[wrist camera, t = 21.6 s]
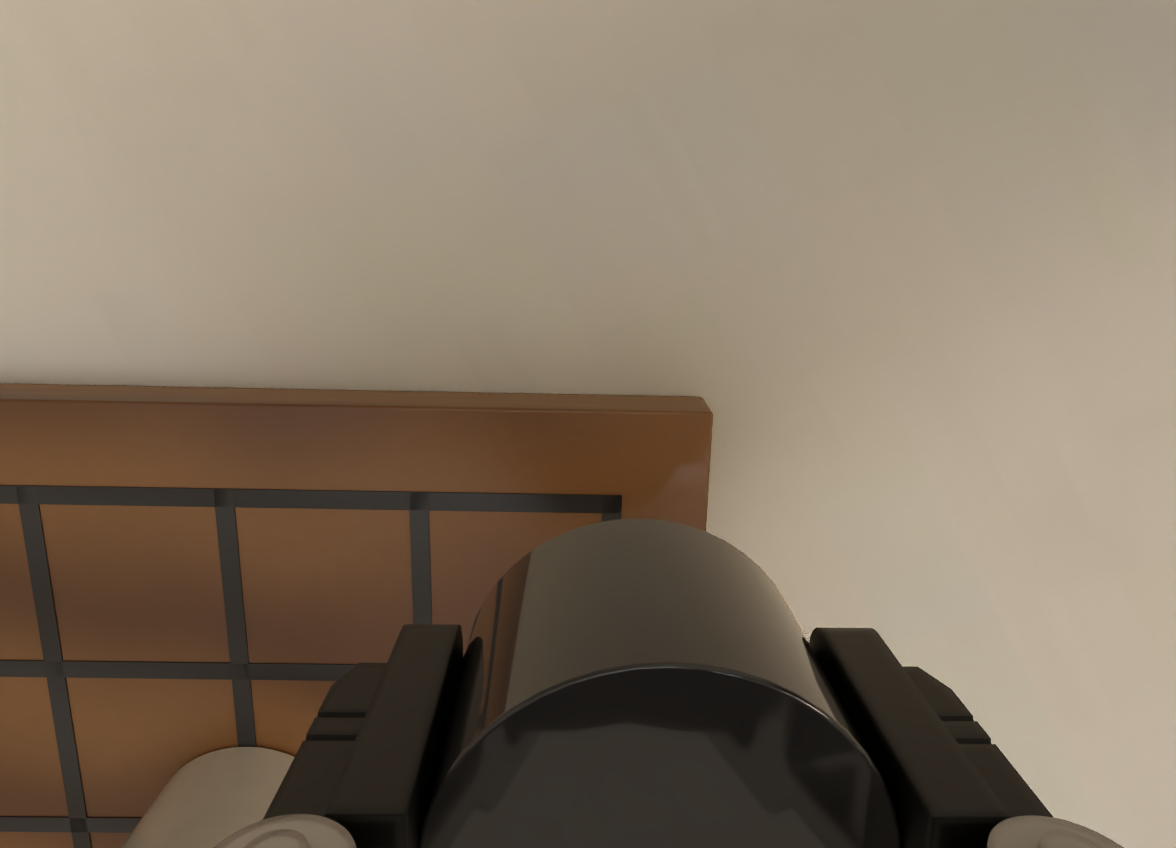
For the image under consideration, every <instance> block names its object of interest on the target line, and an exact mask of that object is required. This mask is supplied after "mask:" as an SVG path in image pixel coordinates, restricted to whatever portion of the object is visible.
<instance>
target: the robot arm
mask: <svg viewBox="0 0 1176 848" xmlns="http://www.w3.org/2000/svg"><path fill="white" fill-rule="evenodd" d="M809 645H810V647H811V648H812V650H813V652H814V654H815V656H816V657H817V659H818V661H819V663H820V665H821V667H822V668H823V670H824V672H825V674H826V676H827V678H828V679H829V681H830V683H831V685H832V687H833V688H834V690H835V692H836V694H837V696H838V698H839V699H840V701H841V703H842V705H843V707H844V708H845V710H846V712H847V714H848V716H849V718H850V719H851V721H852V723H853V725H854V727H855V728H856V730H857V732H858V734H859V736H860V738H861V739H862V741H863V743H864V745H865V747H866V748H867V750H868V752H869V754H870V756H871V758H872V759H873V761H874V763H875V765H876V767H877V768H878V770H879V772H880V774H881V776H882V778H883V780H884V783H885V785H886V787H887V789H888V792H889V794H890V796H891V798H892V801H893V805H894V809H895V812H896V816H897V820H898V823H899V829H900V838H901V848H1123V847H1122V846H1120V845H1119V844H1117V843H1116V842H1114V841H1113V840H1111V839H1109V838H1107V837H1105V836H1103V835H1101V834H1100V833H1098V832H1095V831H1093V830H1091V829H1089V828H1086V827H1084V826H1081V825H1078V824H1075V823H1072V822H1070V821H1066V820H1062V819H1058V818H1054V817H1053V816H1052V815H1051V814H1050V812H1049V811H1048V810H1047V809H1046V807H1045V806H1044V805H1043V804H1042V802H1041V801H1040V800H1039V799H1038V797H1037V796H1036V795H1035V794H1034V792H1033V791H1032V790H1031V789H1030V787H1029V786H1028V785H1027V784H1026V782H1025V781H1024V780H1023V779H1022V777H1021V776H1020V775H1019V774H1018V772H1017V771H1016V770H1015V768H1014V767H1013V766H1012V765H1011V763H1010V762H1009V761H1008V760H1007V758H1006V757H1005V756H1004V755H1003V753H1002V752H1001V751H1000V750H999V748H998V747H997V746H996V745H995V744H991V738H990V737H989V736H988V735H987V733H986V732H985V731H984V730H983V728H982V727H981V726H980V725H979V723H978V722H977V721H973V716H972V714H971V713H970V712H969V711H968V709H967V708H966V707H965V706H964V704H963V703H962V702H961V701H960V699H959V698H958V697H957V696H956V694H955V693H954V692H953V691H952V689H950V688H949V687H947V686H946V685H944V684H943V683H941V682H940V681H938V680H937V679H935V678H934V677H932V676H931V675H929V674H928V673H926V672H925V671H923V670H922V669H920V668H919V667H902V666H901V664H900V663H899V662H898V660H897V659H896V657H895V656H894V655H893V653H892V652H891V651H890V649H889V648H888V646H887V645H886V644H885V642H884V641H883V640H882V638H881V637H880V635H879V634H878V633H877V632H876V631H875V630H874V629H872V628H815V629H814V630H813V632H812V634H811V637H810V642H809ZM462 661H463V635H462V628H461V625H437V624H405V625H403V627H402V629H401V631H400V633H399V636H398V638H397V641H396V643H395V645H394V648H393V650H392V653H391V655H390V657H389V660H388V662H387V663H359V664H357V665H356V666H355V667H354V668H352V669H351V670H350V671H349V672H347V673H346V674H345V675H344V676H342V677H341V678H340V679H339V680H337V681H336V682H335V683H334V684H332V685H331V687H330V689H329V691H328V693H327V695H326V697H325V699H324V701H323V703H322V705H321V707H320V709H319V711H318V716H317V717H315V719H314V720H313V722H312V724H311V726H310V728H309V730H308V732H307V734H306V741H303V742H302V744H301V746H300V748H299V750H298V752H297V754H296V756H295V757H294V759H293V761H292V763H291V765H290V767H289V769H288V771H287V773H286V775H285V777H284V779H283V781H282V783H281V785H280V787H279V789H278V791H277V793H276V794H275V796H274V798H273V800H272V802H271V804H270V806H269V808H268V810H267V812H266V814H265V816H264V818H263V820H261V821H258V822H256V823H253V824H250V825H248V826H246V827H244V828H242V829H240V830H238V831H236V832H234V833H233V834H231V835H230V836H228V837H226V838H225V839H223V840H222V841H221V842H220V843H218V844H217V845H216V846H215V847H213V848H418V847H419V836H420V831H421V826H422V822H423V818H424V814H425V810H426V806H427V802H428V798H429V794H430V790H431V785H432V781H433V777H434V773H435V769H436V765H437V761H438V757H439V753H440V749H441V745H442V741H443V737H444V733H445V729H446V725H447V721H448V717H449V713H450V709H451V705H452V701H453V697H454V693H455V689H456V685H457V681H458V677H459V673H460V669H461V665H462Z"/></svg>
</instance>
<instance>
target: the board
mask: <svg viewBox="0 0 1176 848" xmlns="http://www.w3.org/2000/svg"><path fill="white" fill-rule="evenodd" d="M712 425H713V413H712V411H711V410H710V408H709V407H708V405H707V404H706V402H705V401H704V399H703V398H702V397H689V396H636V395H583V394H529V393H476V392H423V391H370V390H316V389H263V388H210V387H156V386H103V385H50V384H0V848H120V847H121V846H122V844H123V843H124V842H125V840H126V839H127V837H128V836H129V835H130V833H131V832H132V830H133V829H134V828H135V826H136V825H137V824H138V822H139V821H140V819H141V818H142V817H143V815H144V814H145V812H146V811H147V810H148V808H149V807H150V805H151V804H152V803H153V801H154V800H155V798H156V797H157V796H158V794H159V793H160V791H161V790H162V789H163V787H164V786H165V784H166V783H167V782H168V780H169V779H170V778H171V777H172V776H173V775H174V774H175V773H176V772H177V771H178V770H179V769H181V768H182V767H183V766H184V765H186V764H187V763H189V762H191V761H192V760H194V759H196V758H198V757H200V756H202V755H205V754H207V753H210V752H213V751H216V750H220V749H225V748H231V747H246V746H248V747H262V748H267V749H273V750H277V751H280V752H283V753H287V754H289V755H292V756H294V757H295V756H296V754H297V752H298V750H299V748H300V746H301V744H302V742H303V741H306V734H307V732H308V730H309V728H310V726H311V724H312V722H313V720H314V719H315V717H317V716H318V711H319V709H320V707H321V705H322V703H323V701H324V699H325V697H326V695H327V693H328V691H329V689H330V687H331V685H332V684H334V683H335V682H336V681H337V680H339V679H340V678H341V677H342V676H344V675H345V674H346V673H347V672H349V671H350V670H351V669H352V668H354V667H355V666H356V665H357V664H359V663H387V662H388V660H389V657H390V655H391V653H392V650H393V648H394V645H395V643H396V641H397V638H398V636H399V633H400V631H401V629H402V627H403V625H405V624H437V625H461V628H462V635H463V657H464V653H465V649H466V645H467V641H468V637H469V634H470V631H471V628H472V625H473V623H474V620H475V617H476V615H477V613H478V611H479V610H480V608H481V606H482V604H483V602H484V600H485V598H486V597H487V596H488V594H489V593H490V591H491V590H492V589H493V587H494V586H495V584H496V583H497V582H498V581H499V580H500V579H501V577H502V576H503V575H504V574H505V573H506V572H507V571H508V570H509V569H510V568H511V567H512V566H513V565H514V564H515V563H517V562H518V561H519V560H520V559H522V558H523V557H524V556H525V555H527V554H528V553H529V552H530V551H532V550H534V549H535V548H537V547H538V546H540V545H542V544H543V543H545V542H547V541H548V540H550V539H552V538H555V537H557V536H559V535H561V534H563V533H566V532H568V531H570V530H573V529H577V528H580V527H583V526H586V525H590V524H593V523H599V522H604V521H610V520H617V519H636V518H641V519H655V520H664V521H669V522H674V523H679V524H684V525H687V526H690V527H693V528H696V529H699V530H702V531H705V532H706V521H707V505H708V489H709V473H710V457H711V441H712Z"/></svg>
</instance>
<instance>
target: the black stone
mask: <svg viewBox="0 0 1176 848" xmlns="http://www.w3.org/2000/svg"><path fill="white" fill-rule="evenodd" d="M418 848H901V838H900V829H899V823H898V820H897V816H896V812H895V809H894V805H893V801H892V798H891V796H890V794H889V792H888V789H887V787H886V785H885V783H884V780H883V778H882V776H881V774H880V772H879V770H878V768H877V767H876V765H875V763H874V761H873V759H872V758H871V756H870V754H869V752H868V750H867V748H866V747H865V745H864V743H863V741H862V739H861V738H860V736H859V734H858V732H857V730H856V728H855V727H854V725H853V723H852V721H851V719H850V718H849V716H848V714H847V712H846V710H845V708H844V707H843V705H842V703H841V701H840V699H839V698H838V696H837V694H836V692H835V690H834V688H833V687H832V685H831V683H830V681H829V679H828V678H827V676H826V674H825V672H824V670H823V668H822V667H821V665H820V663H819V661H818V659H817V657H816V656H815V654H814V652H813V650H812V648H811V647H810V645H809V643H808V641H807V639H806V637H805V636H804V634H803V632H802V630H801V628H800V627H799V625H798V623H797V621H796V619H795V617H794V616H793V614H792V612H791V610H790V608H789V607H788V605H787V603H786V601H785V600H784V598H783V596H782V595H781V593H780V592H779V590H778V589H777V587H776V585H775V584H774V583H773V582H772V580H771V579H770V578H769V577H768V576H767V575H766V573H765V572H764V571H763V570H762V569H761V568H760V567H759V566H758V565H757V564H756V563H755V562H753V561H752V560H751V559H750V558H749V557H748V556H747V555H745V554H744V553H743V552H741V551H740V550H738V549H737V548H735V547H734V546H732V545H731V544H729V543H728V542H726V541H724V540H722V539H720V538H718V537H716V536H714V535H712V534H710V533H708V532H705V531H702V530H699V529H696V528H693V527H690V526H687V525H684V524H679V523H674V522H669V521H664V520H655V519H641V518H636V519H617V520H610V521H604V522H599V523H593V524H590V525H586V526H583V527H580V528H577V529H573V530H570V531H568V532H566V533H563V534H561V535H559V536H557V537H555V538H552V539H550V540H548V541H547V542H545V543H543V544H542V545H540V546H538V547H537V548H535V549H534V550H532V551H530V552H529V553H528V554H527V555H525V556H524V557H523V558H522V559H520V560H519V561H518V562H517V563H515V564H514V565H513V566H512V567H511V568H510V569H509V570H508V571H507V572H506V573H505V574H504V575H503V576H502V577H501V579H500V580H499V581H498V582H497V583H496V584H495V586H494V587H493V589H492V590H491V591H490V593H489V594H488V596H487V597H486V598H485V600H484V602H483V604H482V606H481V608H480V610H479V611H478V613H477V615H476V617H475V620H474V623H473V625H472V628H471V631H470V634H469V637H468V641H467V645H466V649H465V653H464V657H463V661H462V665H461V669H460V673H459V677H458V681H457V685H456V689H455V693H454V697H453V701H452V705H451V709H450V713H449V717H448V721H447V725H446V729H445V733H444V737H443V741H442V745H441V749H440V753H439V757H438V761H437V765H436V769H435V773H434V777H433V781H432V785H431V790H430V794H429V798H428V802H427V806H426V810H425V814H424V818H423V822H422V826H421V831H420V836H419V847H418Z"/></svg>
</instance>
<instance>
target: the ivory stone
mask: <svg viewBox="0 0 1176 848" xmlns="http://www.w3.org/2000/svg"><path fill="white" fill-rule="evenodd" d="M293 759H294V756H292V755H289V754H287V753H283V752H280V751H277V750H273V749H267V748H262V747H248V746H246V747H231V748H225V749H220V750H216V751H213V752H210V753H207V754H205V755H202V756H200V757H198V758H196V759H194V760H192V761H191V762H189V763H187V764H186V765H184V766H183V767H182V768H181V769H179V770H178V771H177V772H176V773H175V774H174V775H173V776H172V777H171V778H170V779H169V780H168V782H167V783H166V784H165V786H164V787H163V789H162V790H161V791H160V793H159V794H158V796H157V797H156V798H155V800H154V801H153V803H152V804H151V805H150V807H149V808H148V810H147V811H146V812H145V814H144V815H143V817H142V818H141V819H140V821H139V822H138V824H137V825H136V826H135V828H134V829H133V830H132V832H131V833H130V835H129V836H128V837H127V839H126V840H125V842H124V843H123V844H122V846H121V847H120V848H213V847H215V846H216V845H217V844H218V843H220V842H221V841H222V840H223V839H225V838H226V837H228V836H230V835H231V834H233V833H234V832H236V831H238V830H240V829H242V828H244V827H246V826H248V825H250V824H253V823H256V822H258V821H261V820H263V818H264V816H265V814H266V812H267V810H268V808H269V806H270V804H271V802H272V800H273V798H274V796H275V794H276V793H277V791H278V789H279V787H280V785H281V783H282V781H283V779H284V777H285V775H286V773H287V771H288V769H289V767H290V765H291V763H292V761H293Z"/></svg>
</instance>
